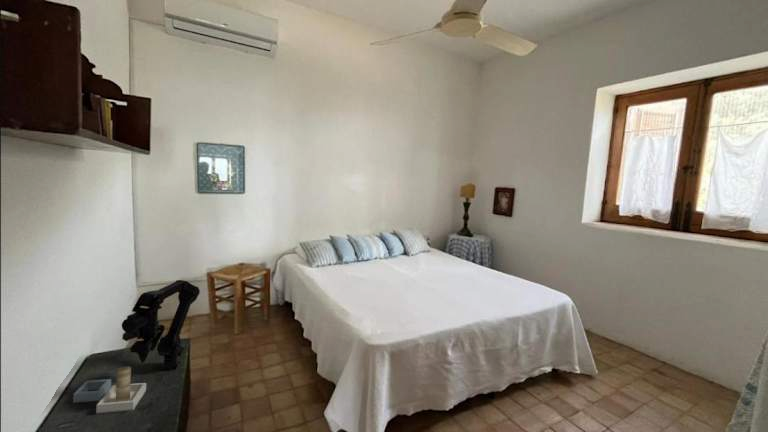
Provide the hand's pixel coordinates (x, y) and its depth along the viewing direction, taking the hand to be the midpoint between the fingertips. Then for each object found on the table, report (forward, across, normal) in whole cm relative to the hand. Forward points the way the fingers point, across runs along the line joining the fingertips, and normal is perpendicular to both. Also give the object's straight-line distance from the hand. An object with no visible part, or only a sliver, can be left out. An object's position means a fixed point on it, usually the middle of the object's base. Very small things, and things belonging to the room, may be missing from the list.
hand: (147, 356), depth 134 cm
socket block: (+13, +4, -17) cm, 22 cm away
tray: (+13, +10, -4) cm, 17 cm away
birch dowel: (+12, +10, -4) cm, 17 cm away
